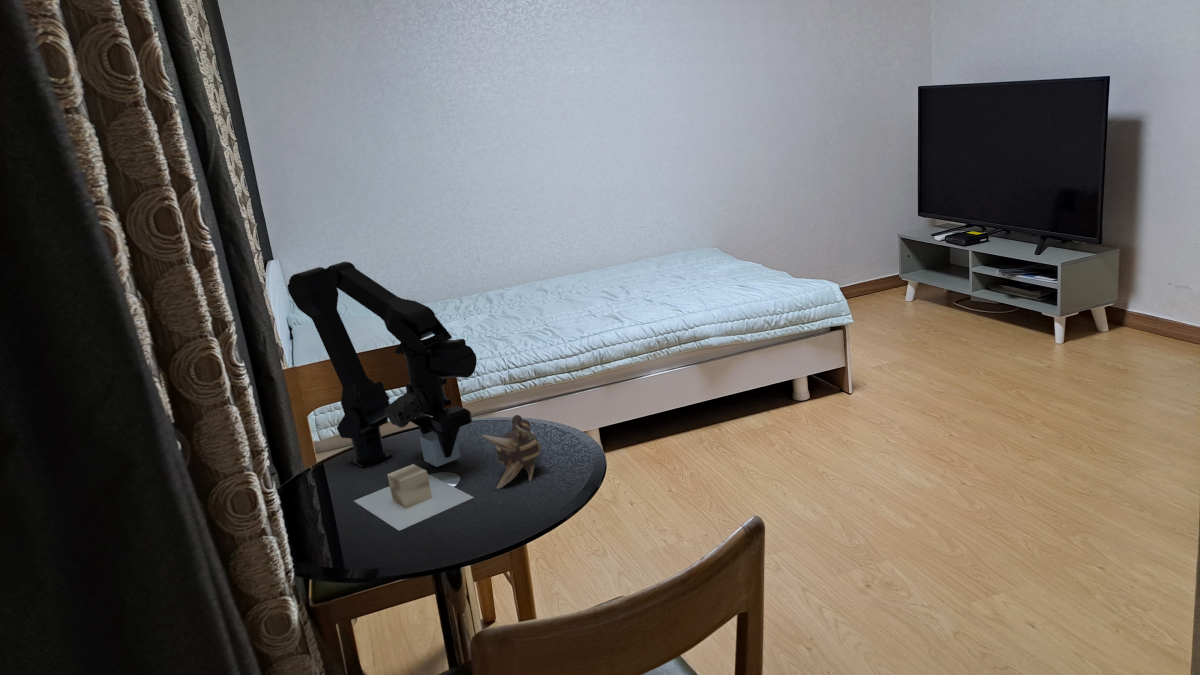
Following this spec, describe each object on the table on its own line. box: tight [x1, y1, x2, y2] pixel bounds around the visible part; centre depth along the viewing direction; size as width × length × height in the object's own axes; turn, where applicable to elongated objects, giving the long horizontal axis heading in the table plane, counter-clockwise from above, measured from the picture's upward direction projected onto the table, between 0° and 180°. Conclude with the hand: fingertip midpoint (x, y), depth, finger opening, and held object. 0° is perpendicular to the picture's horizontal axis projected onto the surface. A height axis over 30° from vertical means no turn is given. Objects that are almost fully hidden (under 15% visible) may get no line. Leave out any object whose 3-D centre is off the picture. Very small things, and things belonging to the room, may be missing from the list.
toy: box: [481, 414, 541, 490], centre depth 149 cm, size 11×8×15 cm
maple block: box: [386, 463, 432, 508], centre depth 144 cm, size 5×5×5 cm
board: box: [353, 473, 474, 532], centre depth 145 cm, size 18×14×1 cm
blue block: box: [418, 431, 461, 468], centre depth 157 cm, size 5×5×5 cm
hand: (441, 453), depth 157 cm, fingers closed on blue block, 5 cm apart
